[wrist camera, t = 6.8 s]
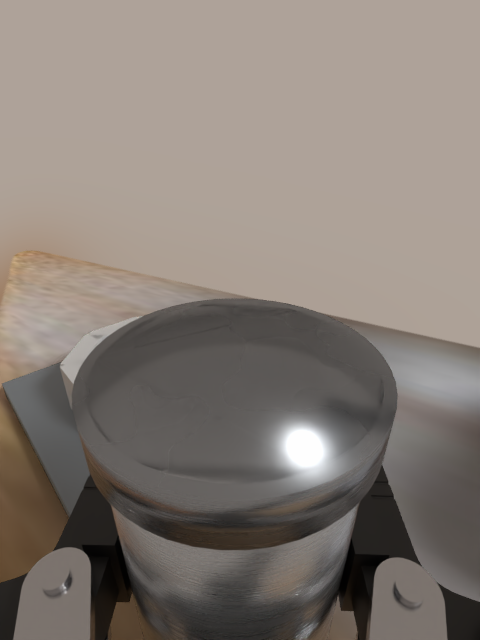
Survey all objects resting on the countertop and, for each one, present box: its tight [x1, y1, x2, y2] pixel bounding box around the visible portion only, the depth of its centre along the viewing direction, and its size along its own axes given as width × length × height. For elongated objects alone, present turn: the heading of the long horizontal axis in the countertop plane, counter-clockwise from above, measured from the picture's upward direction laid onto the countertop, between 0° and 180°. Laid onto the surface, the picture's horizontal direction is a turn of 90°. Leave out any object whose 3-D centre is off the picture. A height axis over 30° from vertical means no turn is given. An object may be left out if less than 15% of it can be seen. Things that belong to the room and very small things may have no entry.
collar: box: [2, 316, 143, 518], centre depth 24 cm, size 14×14×4 cm
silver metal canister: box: [72, 299, 397, 640], centre depth 10 cm, size 5×5×12 cm
